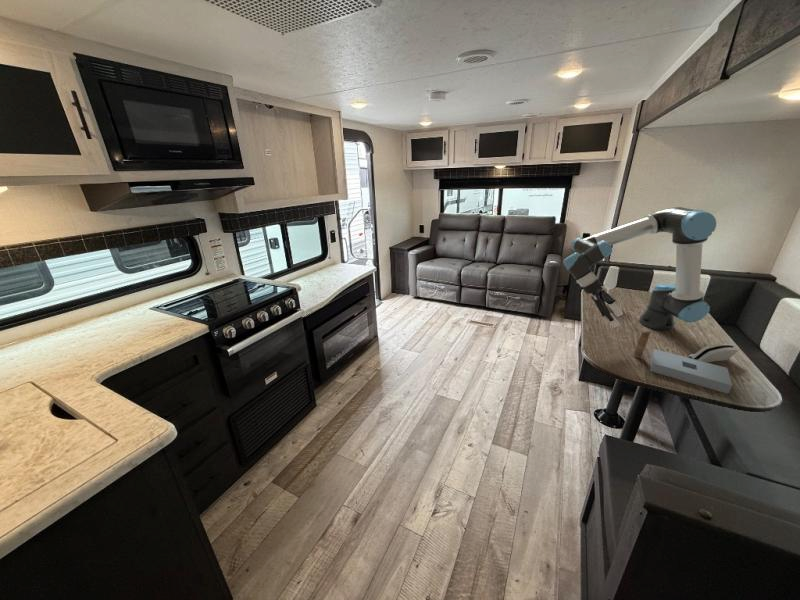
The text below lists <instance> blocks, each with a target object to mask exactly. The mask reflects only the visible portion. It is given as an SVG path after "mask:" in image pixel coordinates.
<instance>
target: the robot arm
mask: <svg viewBox="0 0 800 600" xmlns="http://www.w3.org/2000/svg"><path fill="white" fill-rule="evenodd" d="M716 228H717V219H716V217H715V216H714V215H713V214H712V213H710V212H708V211H704V210H703V209H692V208H685V207H680V206H678V207H676V206H675V207H670V208H665V209H661V210H657V211H655V212H653V213H650V214H646V215H645V216H644V217H643V218H641V219H638V220H635V221H633V222H629V223H626V224H623V225H620V226H617V227H614V228H612V229H609V230H606V231H603V232H599V233H597V234H594V235H591V236H587V237H581V236H580V237H576V238H574V239H573V240H572V242H571V244H570V248H571V250H572V251H573V252H574V253H572V254H570V255H569V256H567V257H566V258H564V259H563V261H562V264H563V265H564V267H565V268H566V270H567V271H568V272H569V273H570V274H571V276H572V277H573V278H574V279H575V281H576V284H578V285H579V286H580V287H581V288H582V291H584V293H585V294H586V295H589V294H592V296H591V297H590V298H591V299H592V300H593V302H594V304H595V306H596V307H597V310H598V311H599V312H600V314H601V317H605V318H606V319H607V321H608V322H609V324H611V326H612V327H613V328H614V329H615V328H617V327H620V326H621V323H620V322H619V321H618V320H617V318H619V317H620V316H622V315H624V312H622V310H621V309H620V308H619V306H618V305H617V304H616V303H615V302H616V299H614V298H613V297H612V296H611V295H610V293H607V290H605V289H604V288H603V284H602V283H601V281H600V280H599V279H598V278H597V275H596V274H594V272H593V271H592V269H590V268H591V267H593V266H595V265H597V263H599V262H601V261H603V260H604V259H606V258H607V257H608V256H611V254H612V253H613V248H612V246H613V245H616V244H619V243H623V242H625V241H629V240H632V239H635V238H637V237H642V236H644V235H647V234H650V235H654V234H657V233H668V234H671V235H672V238H671V239H672V240H671V242H672V243H673V244H674V245H676V249H675V250H676V253H675V254H676V255H675V256H676V257H675V260H676V262H675V284H674V283H673V284H672V283H657V284H655V285H654V286H653V289H652V292H651V295H650V297H649V301H648V305H647V307H646V309H644V311H643V312H642V314H641V315H640V316H639V318H638V322H639V323H640V324H641V325H643V326H644V327H647V328H650V329H654V330H656V331H657V330H658V331H665V332H666V331H667V332H668V331H672V330H673V329H674V328H675V317H676V318H677V319H678V320H681V321H684V322H685V323H695V322H696V323H697V322H698V321H700V320H702V319H704V318H705V317H707V315H708V314H709V312H710V310H711V309H710V308H711V306H710V305H709V304H708V303H707V302H706V301H704V300H705V299H704V298H705V297H704V296H705V294H704V292H703V291H702V290H701V289H700V288H701V273H702V271H701V270H702V259H703V258H702V255H703V244H704V243H705V242H706V241H708V238H709V237H710V236H712V234H713V232H715V230H716ZM605 302H606V303H607V304H610V305H609V306H607V305H606V303H605ZM608 307H609V308H608ZM609 309H611V311H612V312H613V313H614V314H613V313H612V312H610V310H609ZM614 315H615V316H616V317H617V318H616V317H615V316H614Z"/></svg>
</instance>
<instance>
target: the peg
mask: <svg viewBox="0 0 800 600" xmlns="http://www.w3.org/2000/svg"><path fill="white" fill-rule="evenodd" d="M650 335H651V332H650V331H649V330H645V329H642V330H641V332H640V336H639V338H638V341H637V344H636V347H635V350H634V353H633V357H634V358H635V359H636V358H637V359H642V357H643V355H644V351H645V349H646V346H647V343H648V340H649V338H650Z"/></svg>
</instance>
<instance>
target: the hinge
mask: <svg viewBox="0 0 800 600" xmlns="http://www.w3.org/2000/svg"><path fill="white" fill-rule="evenodd" d="M738 352H739V349H737V348H736V347H734V345H733V344H731V343H727V342H725V343H722V342H721V343H716V344H711V345H707V346H704V347H702V348H701V349H699V350H698V351H697V352H696V353H692V354H689V355H688V356H687V358H691V359H695V360H699V361H702V362H706V363H712V362H719V361H727V360H728V359H729V360H730V359H731V358H732V357H733V356H735V355H736V354H737V353H738Z"/></svg>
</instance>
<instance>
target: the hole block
mask: <svg viewBox="0 0 800 600" xmlns="http://www.w3.org/2000/svg"><path fill="white" fill-rule="evenodd" d="M649 370H650V372H652V373H655V374H659V375H663V376H666V377H670V378H673V379H675V380H680V381H684V382H686V383H689V384H694V385H697V386H699V387H703V388H706V389H710V390H714V391H717V392H720V393H724V394H727V395H729V393H730V392H731V389H732V387H733V382H732V380H731V376H730V373H729V370H728V367H725V366H721V365H717V364H713V363H711V362H702V361H699V360H697V359H693V358H692V357H689V358H688V356H683V355H679V354H676V353H671V352H667V351H664V350H660V349H656V348H654V349H653V350H652V353H651V357H650V369H649Z"/></svg>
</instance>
